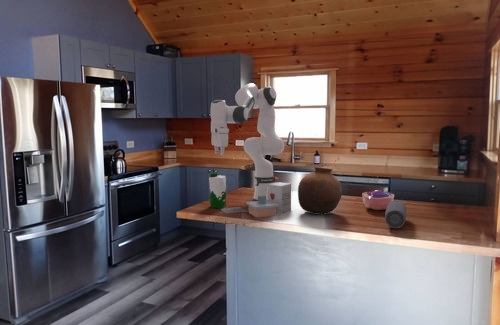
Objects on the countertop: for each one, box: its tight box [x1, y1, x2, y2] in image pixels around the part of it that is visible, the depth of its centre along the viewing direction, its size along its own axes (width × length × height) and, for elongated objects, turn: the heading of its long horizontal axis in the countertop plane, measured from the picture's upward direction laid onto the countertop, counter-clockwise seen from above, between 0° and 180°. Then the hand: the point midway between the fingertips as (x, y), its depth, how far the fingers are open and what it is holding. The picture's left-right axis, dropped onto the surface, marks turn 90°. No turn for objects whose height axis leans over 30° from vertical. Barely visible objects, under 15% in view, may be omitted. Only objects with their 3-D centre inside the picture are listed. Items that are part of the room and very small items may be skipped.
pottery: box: [297, 166, 343, 215], centre depth 202 cm, size 23×23×25 cm
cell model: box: [361, 189, 395, 211], centre depth 210 cm, size 17×20×11 cm
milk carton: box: [208, 172, 227, 209], centre depth 220 cm, size 9×9×20 cm
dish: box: [248, 205, 277, 219], centre depth 202 cm, size 11×11×5 cm
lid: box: [245, 195, 279, 209], centre depth 201 cm, size 13×13×5 cm
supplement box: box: [269, 181, 292, 214], centre depth 210 cm, size 9×9×15 cm
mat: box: [219, 206, 248, 214], centre depth 212 cm, size 12×12×1 cm
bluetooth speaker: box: [384, 199, 408, 229], centre depth 180 cm, size 23×9×10 cm, turn 157°
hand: (219, 154), depth 213 cm, fingers open, 8 cm apart
